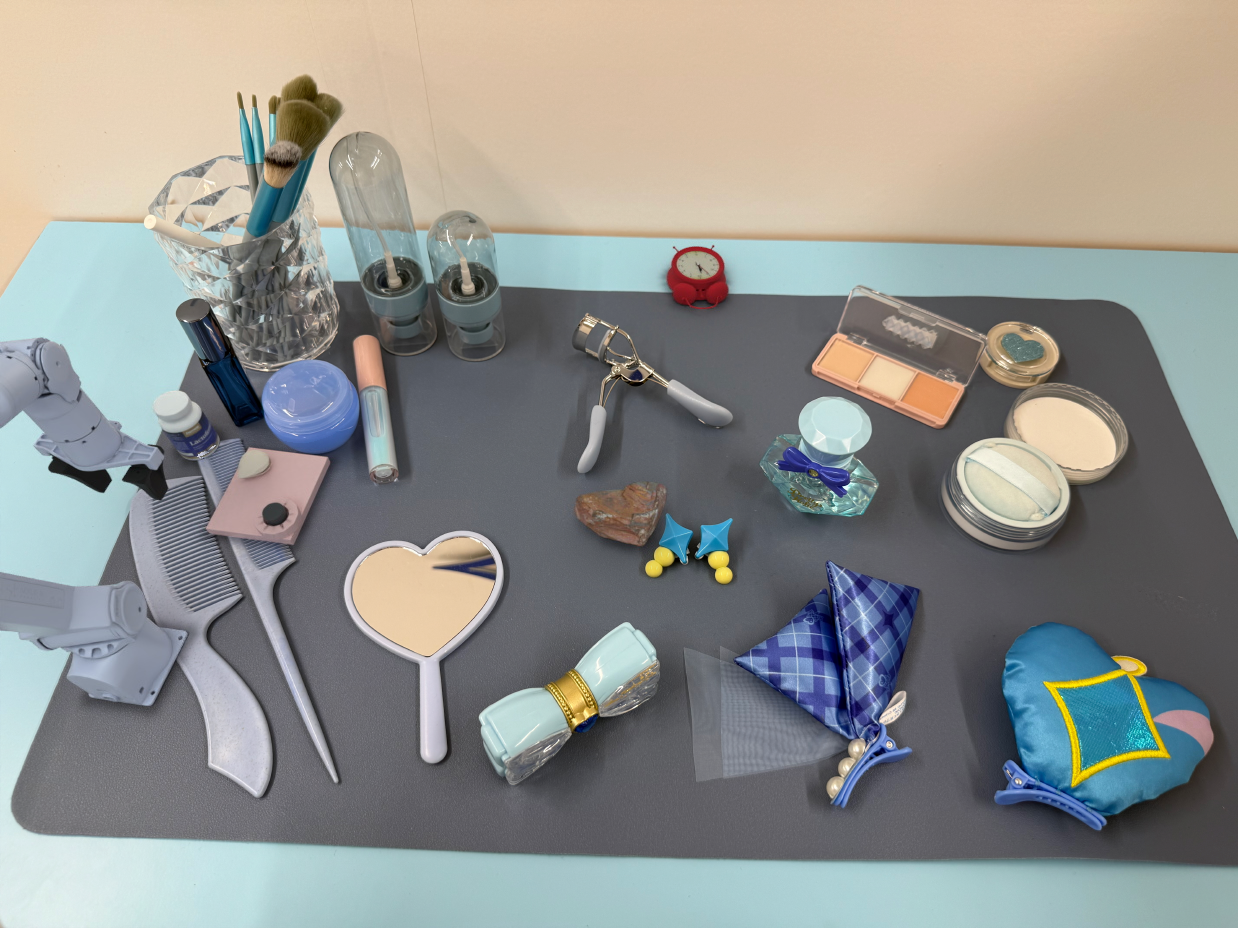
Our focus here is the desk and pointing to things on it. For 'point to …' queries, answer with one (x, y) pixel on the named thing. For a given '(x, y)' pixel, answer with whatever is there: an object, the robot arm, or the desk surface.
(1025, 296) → the desk surface
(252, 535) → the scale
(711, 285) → the alarm clock
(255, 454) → the beige teardrop
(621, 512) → the stone
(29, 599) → the robot arm
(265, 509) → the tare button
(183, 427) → the pill bottle
